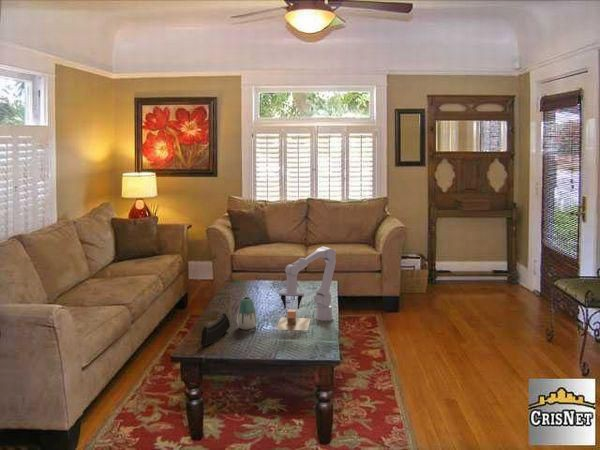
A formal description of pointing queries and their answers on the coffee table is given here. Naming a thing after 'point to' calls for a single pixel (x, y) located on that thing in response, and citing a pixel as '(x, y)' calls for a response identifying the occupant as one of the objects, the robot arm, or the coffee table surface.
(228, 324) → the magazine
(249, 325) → the vase
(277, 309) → the coffee table surface
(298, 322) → the birch board
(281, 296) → the robot arm
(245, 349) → the coffee table surface
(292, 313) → the terracotta block
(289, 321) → the walnut block
